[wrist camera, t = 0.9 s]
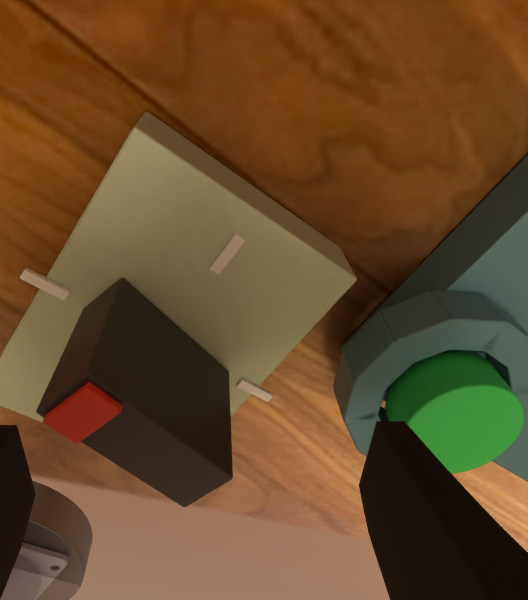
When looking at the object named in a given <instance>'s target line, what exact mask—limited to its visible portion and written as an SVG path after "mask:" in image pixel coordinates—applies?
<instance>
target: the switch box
mask: <svg viewBox="0 0 528 600" xmlns="http://www.w3.org/2000/svg"><path fill="white" fill-rule="evenodd" d="M340 350H341V357H340V361H339V365H338V369H337V373H336V377H335V381H334V385H333V386H334V392H335V395H336V398H337V402H338V405H339V408H340V411H341V414H342V417H343V421H344V423H345V425H346V427H347V429H348V431H349V433H350V435H351V437H352V439H353V442H354V444H355V446H356V448H357V450H358V451H359V452H360V453H361V454H363V455H365V456H367V454H368V450H369V447H370V443H371V439H372V436H373V432H374V428H375V425H376V421H389V420H388V417H387V414H386V409H384V408H383V407H381V404H382V401H383V400H385V401H386V399H387V395H388V392H389V390H390V388H391V386H392V385H393V383H394V382H395V380H396V379H397V378H398V377H399V376H400V375H401V374H403V373H404V372H405V371H406V370H407V369H408V368H409V367H410V366H412V365H413V364H415V363H417V362H418V361H421V360H423V359H426V358H429V357H431V356H434V355H437V354H439V353H444V352H452V351H461V352H468V353H473V354H476V355H478V356H481V357H482V358H484V359H486V360H487V361H488V362H490V363H491V365H492V366H493V367H494V368H495V369H496V371H497V372H498V373H499V374H500V376H501V377H502V378H503V379H504V381H505V382H506V383H507V385H508V386H509V387H510V388H511V390H512V391H513V392H514V393H515V395H516V396H517V397H518V398H519V400H520V401H521V403H522V406H523V409H524V423H523V426H522V429H521V431H520V433H519V435H518V437H517V438H516V440H515V441H514V442H513V443H512V445H511V446H510V447H509V448H508V449H507V450H505V451H504V452H503V453H502V454H501V455H499V456H498V457H496V458H495V459H493V460H491V461H492V462H494V463H496V464H498V465H500V466H501V467H503V468H505V469H507V470H508V471H510V472H512V473H514V474H515V475H517V476H519V477H521V478H522V479H524V480H526V481H528V155H527V156H526V157H525V158H524V159H523V160H522V161H521V162H520V163H519V164H518V165H517V166H516V167H515V168H514V169H513V170H512V171H511V172H510V173H509V174H508V175H507V176H506V177H505V178H504V179H503V181H502V182H501V183H500V184H499V185H498V186H497V187H496V188H495V189H494V190H493V191H492V192H491V193H490V194H489V195H488V196H487V197H486V198H485V199H484V200H483V201H482V202H481V203H480V204H479V205H478V206H477V207H476V208H475V209H474V210H473V211H472V212H471V213H470V214H469V215H468V216H467V217H466V218H465V219H464V221H463V222H462V223H461V224H460V225H459V226H458V227H457V228H456V229H455V230H454V231H453V232H452V233H451V234H450V235H449V236H448V237H447V238H446V239H445V240H444V241H443V242H442V243H441V244H440V245H439V246H438V247H437V248H436V249H435V250H434V251H433V252H432V253H431V254H430V255H429V256H428V257H427V258H426V259H425V260H424V262H423V263H422V264H421V265H420V266H419V267H418V268H417V269H416V270H415V271H414V272H413V273H412V274H411V275H410V276H409V277H408V278H407V279H406V280H405V281H404V282H403V283H402V284H401V285H400V286H399V287H398V288H397V289H396V290H395V291H394V292H393V293H392V294H391V295H390V296H389V297H388V298H387V299H386V300H385V301H384V303H383V304H382V305H381V306H380V307H379V308H378V309H377V310H376V311H375V312H374V313H373V314H372V315H371V316H370V317H369V318H368V319H367V320H366V321H365V322H364V323H363V324H362V325H361V326H360V327H359V328H358V329H357V330H356V331H355V332H354V333H353V334H352V335H351V336H350V337H349V338H348V339H347V340H346V341H345V343H344V344H343V345H342V346H341V347H340Z"/></svg>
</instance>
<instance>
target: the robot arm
mask: <svg viewBox="0 0 528 600" xmlns="http://www.w3.org/2000/svg"><path fill="white" fill-rule="evenodd" d="M359 488H360V493H361V498H362V503H363V508H364V513H365V518H366V522H367V527H368V531H369V535H370V539H371V542H372V545H373V548H374V551H375V554H376V557H377V560H378V564H379V567H380V569H381V573H382V576H383V579H384V582H385V585H386V588H387V591H388V594H389V597H390V600H528V552H527V551H525V550H524V549H523V548H522V547H521V546H520V545H519V544H518V543H517V542H516V541H515V540H514V539H513V538H512V537H511V536H510V535H509V534H508V533H507V532H506V531H505V530H504V529H503V528H502V527H501V526H500V525H499V524H498V523H497V522H496V521H495V520H494V519H493V518H492V517H491V516H490V515H489V514H488V513H487V511H486V510H485V509H484V508H483V507H482V506H481V505H480V504H479V503H478V502H477V501H476V500H475V499H474V498H473V497H472V496H471V495H470V494H469V492H468V491H467V490H466V489H465V488H464V487H463V486H462V485H461V484H460V483H459V482H458V481H457V479H456V478H455V477H454V476H453V475H452V474H451V473H450V472H449V471H448V469H447V468H446V467H445V466H444V465H443V464H442V463H441V462H440V461H439V459H438V458H437V457H436V456H435V455H434V454H433V453H432V452H431V450H430V449H429V448H428V447H427V446H426V445H425V444H424V443H423V441H422V440H421V439H420V438H419V437H418V436H417V435H416V434H415V433H414V431H413V430H412V429H411V428H410V427H409V426H408V425H407V424H406V422H405V421H376V425H375V428H374V432H373V436H372V439H371V443H370V447H369V450H368V454H367V458H366V461H365V465H364V469H363V472H362V476H361V480H360V483H359ZM34 498H35V490H34V486H33V483H32V479H31V475H30V472H29V468H28V464H27V461H26V457H25V453H24V450H23V446H22V442H21V439H20V435H19V431H18V428H17V425H0V600H37V598H38V597H39V596H40V595H41V594H42V593H43V592H44V590H45V589H46V588H47V587H48V586H49V585H50V584H51V583H52V581H53V580H54V579H55V578H56V577H57V576H58V575H59V573H60V572H61V571H62V570H63V569H64V568H65V567H66V565H67V563H68V560H69V558H68V556H67V555H65V554H63V553H59V552H56V551H52V550H49V549H45V548H42V547H39V546H35V545H32V544H28V543H25V542H23V538H24V535H25V531H26V528H27V524H28V521H29V517H30V513H31V509H32V505H33V502H34Z"/></svg>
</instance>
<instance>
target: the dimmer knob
mask: <svg viewBox="0 0 528 600" xmlns="http://www.w3.org/2000/svg"><path fill="white" fill-rule="evenodd" d="M36 412H37V414H39V415H40V416H42V417H43V418H44V419H43V423H45V424H46V425H48V426H50V427H51V428H53V429H54V430H56V431H57V432H59V433H61V434H62V435H64V436H65V437H67V438H68V439H70V440H72V441H73V442H75V443H79V442H80V441H81V442H82V443H84V444H86V445H87V446H89V447H90V448H92V449H93V450H95V451H97V452H98V453H100V454H101V455H103V456H104V457H106V458H107V459H109V460H111V461H112V462H114V463H115V464H117V465H118V466H120V467H122V468H123V469H125V470H126V471H128V472H129V473H131V474H133V475H134V476H136V477H137V478H139V479H140V480H142V481H143V482H145V483H147V484H148V485H150V486H151V487H153V488H154V489H156V490H158V491H159V492H161V493H162V494H164V495H165V496H167V497H169V498H170V499H172V500H173V501H175V502H176V503H178V504H179V505H181V506H183V507H187V506H188V505H190V504H192V503H193V502H195V501H197V500H198V499H200V498H202V497H203V496H205V495H206V494H208V493H210V492H211V491H213V490H215V489H216V488H218V487H220V486H221V485H223V484H225V483H226V482H228V481H230V480H231V479H232V477H233V470H232V442H231V413H230V385H229V371H228V370H227V369H226V368H225V367H224V366H222V365H221V364H220V363H219V362H218V361H217V360H216V359H215V358H213V357H212V356H211V355H210V354H209V353H208V352H207V351H205V350H204V349H203V348H202V347H201V346H200V345H199V344H198V343H196V342H195V341H194V340H193V339H192V338H191V337H190V336H189V335H187V334H186V333H185V332H184V331H183V330H182V329H181V328H180V327H178V326H177V325H176V324H175V323H174V322H173V321H172V320H170V319H169V318H168V317H167V316H166V315H165V314H164V313H163V312H161V311H160V310H159V309H158V308H157V307H156V306H155V305H154V304H152V303H151V302H150V301H149V300H148V299H147V298H146V297H145V296H143V295H142V294H141V293H140V292H139V291H138V290H137V289H136V288H134V287H133V286H132V285H131V284H130V283H129V282H128V281H126V280H125V279H124V278H120V279H119V280H118V281H116V282H115V283H114V284H113V285H112V286H110V287H109V288H108V289H107V290H105V291H104V292H103V293H102V294H101V295H99V296H98V297H97V298H96V299H94V300H93V301H92V302H91V303H90V304H88V305H87V306H86V307H85V308H83V310H82V312H81V314H80V317H79V319H78V321H77V323H76V325H75V328H74V330H73V332H72V334H71V336H70V338H69V341H68V343H67V345H66V347H65V349H64V351H63V354H62V356H61V358H60V360H59V362H58V364H57V367H56V369H55V371H54V373H53V375H52V377H51V380H50V382H49V384H48V386H47V388H46V390H45V393H44V395H43V397H42V399H41V401H40V403H39V406H38V408H37V410H36Z"/></svg>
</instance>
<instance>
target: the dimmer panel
mask: <svg viewBox="0 0 528 600" xmlns="http://www.w3.org/2000/svg"><path fill="white" fill-rule="evenodd" d="M120 278H124V279H125V280H126V281H128V282H129V283H130V284H131V285H132V286H133V287H134V288H136V289H137V290H138V291H139V292H140V293H141V294H142V295H143V296H145V297H146V298H147V299H148V300H149V301H150V302H151V303H152V304H154V305H155V306H156V307H157V308H158V309H159V310H160V311H161V312H163V313H164V314H165V315H166V316H167V317H168V318H169V319H170V320H172V321H173V322H174V323H175V324H176V325H177V326H178V327H180V328H181V329H182V330H183V331H184V332H185V333H186V334H187V335H189V336H190V337H191V338H192V339H193V340H194V341H195V342H196V343H198V344H199V345H200V346H201V347H202V348H203V349H204V350H205V351H207V352H208V353H209V354H210V355H211V356H212V357H213V358H215V359H216V360H217V361H218V362H219V363H220V364H221V365H222V366H224V367H225V368H226V369H227V370H228V371H229V385H230V413H231V416H232V415H233V414H234V413H235V412H236V411H237V410H238V408H239V407H240V406H241V405H242V404H243V403H244V402H245V401H246V400H247V399H248V398H249V396H250V395H251V394H252V395H254V396H256V397H258V398H260V399H262V400H264V401H266V402H268V401H269V400H270V399H271V398H272V397H273V393H271V392H269V391H267V390H265V389H263V388H261V387H260V385H261V383H262V382H263V381H264V380H265V379H266V378H267V377H268V376H269V375H270V374H271V373H272V372H273V370H274V369H275V368H276V367H277V366H278V365H279V364H280V363H281V362H282V361H283V360H284V359H285V357H286V356H287V355H288V354H289V353H290V352H291V351H292V350H293V349H294V348H295V347H296V346H297V344H298V343H299V342H300V341H301V340H302V339H303V338H304V337H305V336H306V335H307V334H308V333H309V331H310V330H311V329H312V328H313V327H314V326H315V325H316V324H317V323H318V322H319V321H320V320H321V318H322V317H323V316H324V315H325V314H326V313H327V312H328V311H329V310H330V309H331V308H332V307H333V305H334V304H335V303H336V302H337V301H338V300H339V299H340V298H341V297H342V296H343V295H344V293H345V292H346V291H347V290H348V289H349V288H350V287H351V286H352V285H353V284H354V283H355V282H356V280H357V278H356V276H355V274H354V272H353V270H352V269H351V267H350V265H349V263H348V261H347V259H346V257H345V256H344V254H343V252H342V250H341V248H340V247H339V246H338V245H336V244H335V243H334V242H332V241H331V240H329V239H328V238H326V237H325V236H324V235H322V234H321V233H319V232H318V231H317V230H315V229H314V228H312V227H311V226H309V225H308V224H307V223H305V222H304V221H302V220H301V219H300V218H298V217H297V216H295V215H294V214H292V213H291V212H290V211H288V210H287V209H285V208H284V207H282V206H281V205H280V204H278V203H277V202H275V201H274V200H273V199H271V198H270V197H268V196H267V195H265V194H264V193H263V192H261V191H260V190H258V189H257V188H256V187H254V186H253V185H251V184H250V183H248V182H247V181H246V180H244V179H243V178H241V177H240V176H239V175H237V174H236V173H234V172H233V171H231V170H230V169H229V168H227V167H226V166H224V165H223V164H221V163H220V162H219V161H217V160H216V159H214V158H213V157H212V156H210V155H209V154H207V153H206V152H204V151H203V150H202V149H200V148H199V147H197V146H196V145H195V144H193V143H192V142H190V141H189V140H187V139H186V138H185V137H183V136H182V135H180V134H179V133H177V132H176V131H175V130H173V129H172V128H170V127H169V126H168V125H166V124H165V123H163V122H162V121H160V120H159V119H158V118H156V117H155V116H153V115H152V114H151V113H149V112H145V113H144V114H143V115H142V117H141V118H140V119H139V120H138V122H137V123H136V124H135V126H134V127H133V128H132V130H131V132H130V133H129V135H128V137H127V139H126V140H125V142H124V144H123V145H122V147H121V149H120V151H119V152H118V154H117V156H116V158H115V159H114V161H113V163H112V164H111V166H110V168H109V170H108V171H107V173H106V175H105V176H104V178H103V180H102V182H101V183H100V185H99V187H98V189H97V190H96V192H95V194H94V195H93V197H92V199H91V201H90V202H89V204H88V206H87V207H86V209H85V211H84V213H83V214H82V216H81V218H80V220H79V221H78V223H77V225H76V226H75V228H74V230H73V232H72V233H71V235H70V237H69V238H68V240H67V242H66V244H65V245H64V247H63V249H62V251H61V252H60V254H59V256H58V257H57V259H56V261H55V263H54V264H53V266H52V268H51V269H50V271H49V273H48V275H47V276H46V277H44V276H42V275H40V274H38V273H36V272H34V271H32V270H30V269H28V268H25V269H24V271H23V273H22V275H21V276H20V279H21V280H23V281H25V282H27V283H29V284H31V285H34V286H36V287H38V288H39V290H38V292H37V294H36V295H35V297H34V299H33V300H32V302H31V304H30V306H29V307H28V309H27V311H26V312H25V314H24V316H23V318H22V319H21V321H20V323H19V325H18V326H17V328H16V330H15V331H14V333H13V335H12V337H11V338H10V340H9V342H8V343H7V345H6V347H5V349H4V350H3V352H2V354H1V356H0V406H2V407H4V408H7V409H9V410H12V411H14V412H17V413H20V414H22V415H25V416H27V417H30V418H32V419H35V420H37V421H40V422H43V419H44V418H43V417H42V416H40V415H39V414H37V412H36V410H37V408H38V406H39V403H40V401H41V399H42V397H43V395H44V393H45V390H46V388H47V386H48V384H49V382H50V380H51V377H52V375H53V373H54V371H55V369H56V367H57V364H58V362H59V360H60V358H61V356H62V354H63V351H64V349H65V347H66V345H67V343H68V341H69V338H70V336H71V334H72V332H73V330H74V328H75V325H76V323H77V321H78V319H79V317H80V314H81V312H82V310H83V308H85V307H86V306H87V305H88V304H90V303H91V302H92V301H93V300H94V299H96V298H97V297H98V296H99V295H101V294H102V293H103V292H104V291H105V290H107V289H108V288H109V287H110V286H112V285H113V284H114V283H115V282H116V281H118V280H119V279H120Z"/></svg>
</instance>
